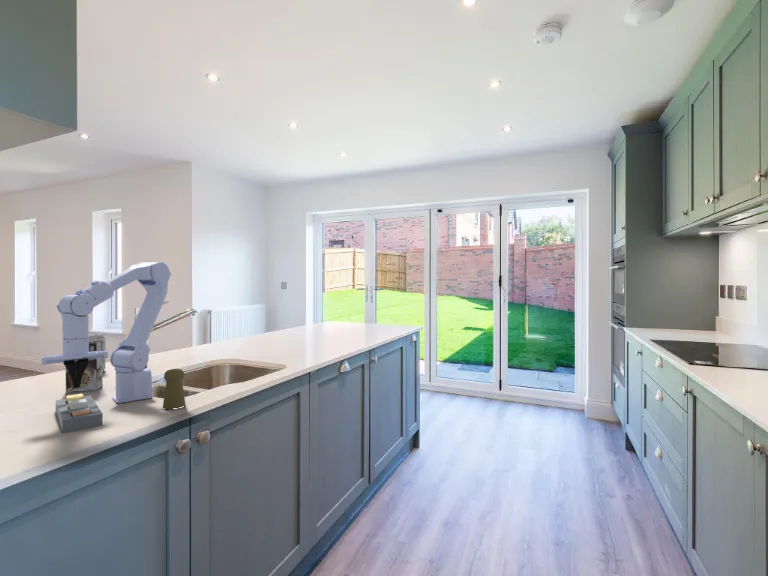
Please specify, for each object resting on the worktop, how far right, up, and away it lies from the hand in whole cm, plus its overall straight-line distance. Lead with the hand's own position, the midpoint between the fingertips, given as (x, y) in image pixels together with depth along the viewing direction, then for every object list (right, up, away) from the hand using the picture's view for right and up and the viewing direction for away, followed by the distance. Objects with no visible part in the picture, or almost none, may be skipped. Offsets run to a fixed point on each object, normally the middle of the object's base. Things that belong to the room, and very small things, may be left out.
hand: (76, 387), depth 112 cm
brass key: (-2, -6, +2) cm, 6 cm away
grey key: (+3, -6, -3) cm, 8 cm away
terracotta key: (+8, -7, -9) cm, 14 cm away
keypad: (+3, -7, -3) cm, 9 cm away
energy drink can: (-32, -7, +52) cm, 61 cm away
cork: (+24, -8, +7) cm, 26 cm away
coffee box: (-16, -7, +25) cm, 31 cm away
